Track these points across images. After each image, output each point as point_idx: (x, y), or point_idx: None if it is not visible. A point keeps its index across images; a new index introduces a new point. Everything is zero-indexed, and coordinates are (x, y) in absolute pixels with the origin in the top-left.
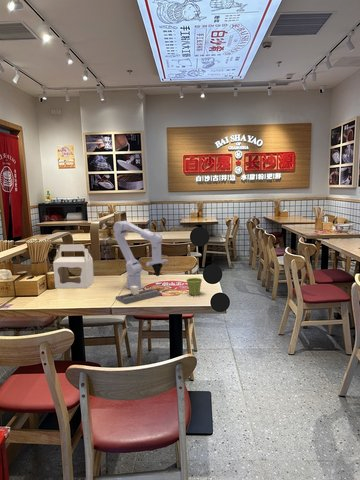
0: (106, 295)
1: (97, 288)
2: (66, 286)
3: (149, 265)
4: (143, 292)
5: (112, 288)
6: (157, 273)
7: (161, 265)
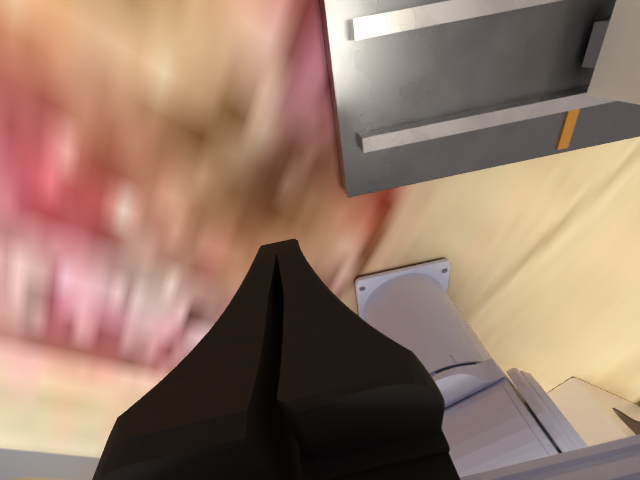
0: (627, 236)
1: (548, 360)
2: (624, 402)
3: (625, 443)
4: (471, 108)
5: (501, 339)
6: (303, 260)
7: (161, 429)
